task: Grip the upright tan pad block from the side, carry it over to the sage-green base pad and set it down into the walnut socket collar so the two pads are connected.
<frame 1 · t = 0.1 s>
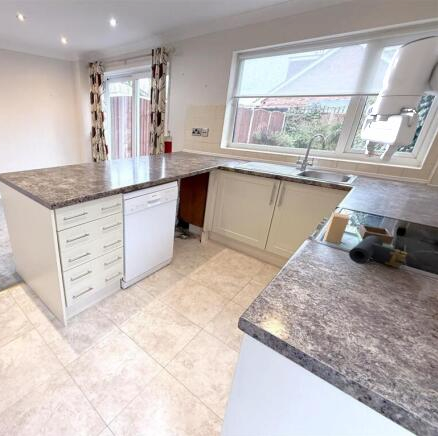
hand: (375, 158, 73), 31 cm above the worktop, tool pointing down, fingers open, 8 cm apart
pipe connector: (375, 260, 80), on the worktop
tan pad: (331, 239, 92), on the worktop
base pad: (372, 239, 93), on the worktop
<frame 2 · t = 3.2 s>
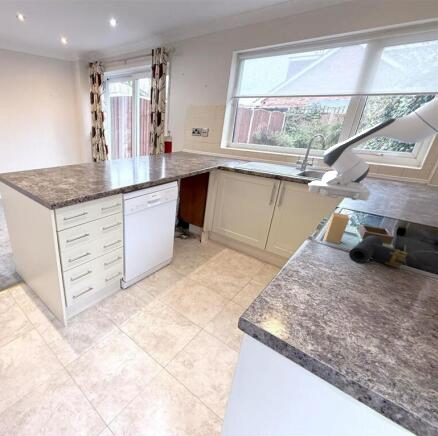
hand: (340, 195, 96), 14 cm above the worktop, tool horizontal, fingers open, 8 cm apart
nothing on the worktop moved.
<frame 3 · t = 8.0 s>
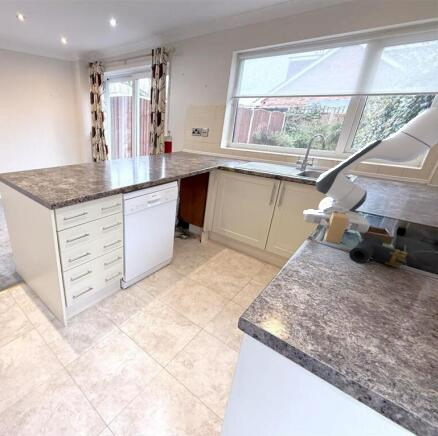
hand: (336, 227, 89), 6 cm above the worktop, tool horizontal, fingers closed on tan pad, 4 cm apart
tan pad: (331, 239, 92), on the worktop, touching gripper
everything else where it was.
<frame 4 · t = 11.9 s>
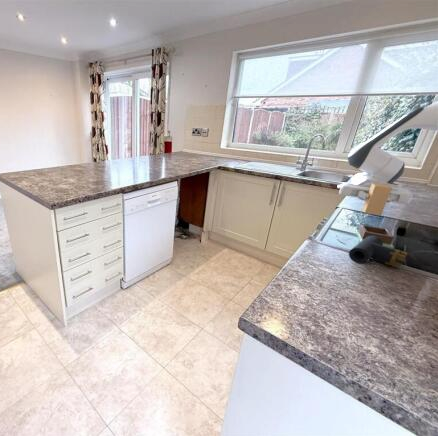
hand: (377, 198, 85), 17 cm above the worktop, tool horizontal, fingers closed on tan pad, 4 cm apart
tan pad: (371, 212, 88), point 11 cm above the worktop, touching gripper
everything else where it was.
when the fingers open (6 cm above the worktop, at t = 15.9 s): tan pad stays where it is, resting on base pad.
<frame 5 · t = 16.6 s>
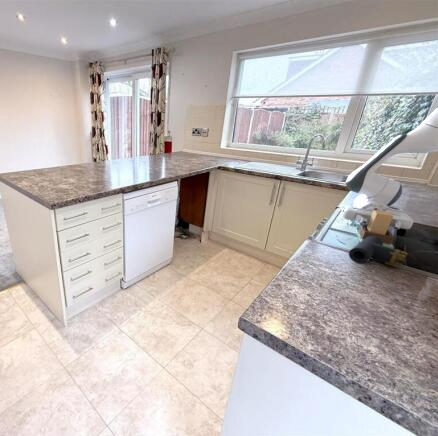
hand: (380, 224, 90), 7 cm above the worktop, tool horizontal, fingers open, 8 cm apart
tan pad: (372, 237, 93), point 1 cm above the worktop, touching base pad
everything else where it was.
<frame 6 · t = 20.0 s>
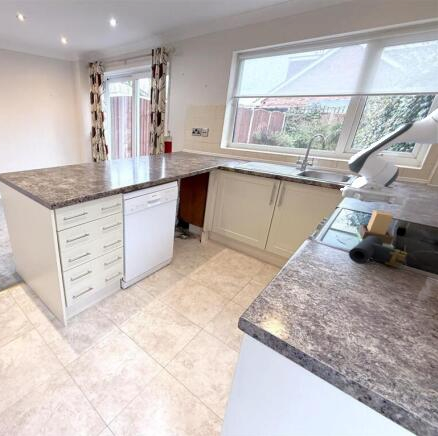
hand: (375, 200, 99), 12 cm above the worktop, tool horizontal, fingers open, 8 cm apart
nothing on the worktop moved.
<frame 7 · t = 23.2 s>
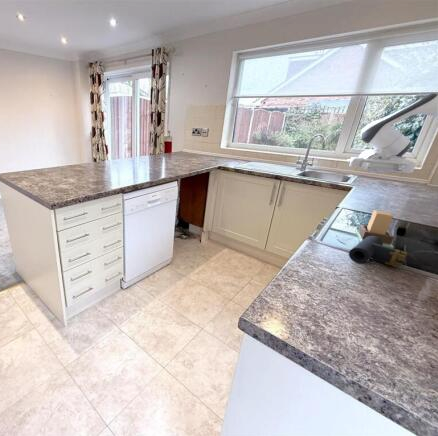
hand: (384, 167, 96), 25 cm above the worktop, tool horizontal, fingers open, 8 cm apart
nothing on the worktop moved.
at the end: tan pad 0.2 cm off-centre on the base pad, point 1.0 cm above the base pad's base; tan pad tilted 0°; the gripper is holding nothing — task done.
